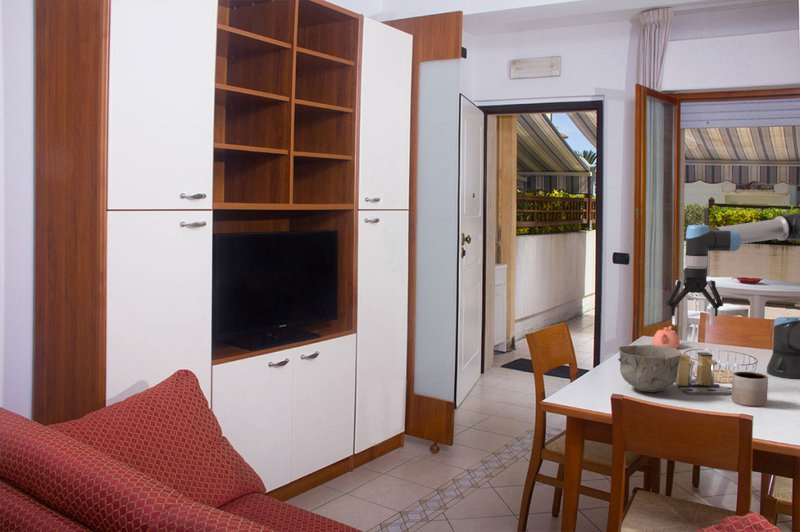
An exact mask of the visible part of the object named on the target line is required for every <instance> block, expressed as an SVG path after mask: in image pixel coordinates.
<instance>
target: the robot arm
mask: <svg viewBox="0 0 800 532" xmlns="http://www.w3.org/2000/svg"><path fill="white" fill-rule="evenodd" d="M685 233H686V234H685V254H684V255H685V256H684V257H685V259H684V266H685V268H684V272H683V273H684V279H683V280H679V279H676V280H675V281H674V286H673V288H672V290H671V292H670V293H669V295H668V297H667V298H666V300H665V302H664V304H665V305H667V306H669V307H670V308H669V315H670V316H671V320H672V321H671V325H673V326H677V325H678V310H679V309H678V307H677V305H678V304H679V303H680V302H681V301H682V300H683V299H684V298H685V297H686V296H687V295H688V294H689V293H690V294H694V293H696V294H700V293H701V295H703V296H704V297H705V299H706V300H707V301H708V303H709V304H710V305H711V306H710V307H709V322H708V323H709V325H710V326H712V327H714V326H715V321H716V320H715V319H716V317H718V311H719V310H718V309H719V308H720V307H723V306H724V303H723V299H722V298H721V296H720V293H719V291H718V289H717V287H716V285H717V284H716V281H715V280H712V279H711V280H707V274H708V269H707V267H708V253H709V252H735V251H738V250H739V249H740V247H741V246H742V244H747V243H754V242H755V243H756V242H763V241H769V240H770V241H771V240H776V239H777V240H778V241H800V211H799V212H793V213H789V214H783V215H778V216H775V217H774V218H773V219H767V220H760V221H752V222H745V223H739V224H733V225H732V224H731V225H725V226H718V227H710V226H709V225H706V224H689V225H688V226H687V228H686V231H685ZM682 286H684V287H683V288H682ZM707 286H708V287H709V288H710V291H711V294H712V296H713V297H712V296H711V295H710V293H709V292H708V290H707V288H706V287H707ZM681 288H682V290H681V291H680V293H678V292H679V290H680V289H681ZM677 294H678V295H677ZM772 340H773V342H772V343H773V344H772V354H771V357H770V359H769V362H768V363H767V365H766V374H768V375H771V376H774V377H780V378H783V379H785V378H786V379H795V380H797V379H800V316H778V317H776V318H775V319H774V322H773V338H772Z"/></svg>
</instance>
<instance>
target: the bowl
mask: <svg viewBox="0 0 800 532" xmlns="http://www.w3.org/2000/svg"><path fill="white" fill-rule="evenodd" d="M618 351H619V358H618V359H617V360H618V362H620V363H619V364H620V365H619V372H620V374H621V376H622V378H623V380H624V381H625V382H626V383H627V384H628V385H630V386H631V387H633V388H635V389H637V390H638V391H642V392H645V393H647V392H648V393H657V392H663V391H665V390H667V389H669V388H670V387H671V386H672V385H673V384H675V381H676V379H677V371H678V365H679V360H680V357H681V355H682V354H683V353H682V352H681V351H680V349H678V348H677V349H675V348H672V347H668V346H657V345H652V344H638V345H635V344H634V345H621V346H619V347H618Z"/></svg>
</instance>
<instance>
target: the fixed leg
mask: <svg viewBox="0 0 800 532" xmlns="http://www.w3.org/2000/svg"><path fill="white" fill-rule="evenodd" d="M681 354H682V355H681V357H680V360H679V365H678V371H677V379H676V381H675V382H674V384H675V385H676V384H678V385H679V386H688V387H691V383H692V379H691V373H692V374H693V372H692V365H693V366H694V365H695V361H693V360H692V359H690V358H691V357H690V355H688V354H687V353H681Z"/></svg>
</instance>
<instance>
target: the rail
mask: <svg viewBox="0 0 800 532" xmlns="http://www.w3.org/2000/svg"><path fill="white" fill-rule="evenodd" d="M675 386H676V388H678V389H682V388H721V386H720V384H719V383H714V387H711V385H701V384H699V383H697V382H694V383H693V382H691V387H688V386H679V385H678V384H676V383H675Z"/></svg>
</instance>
